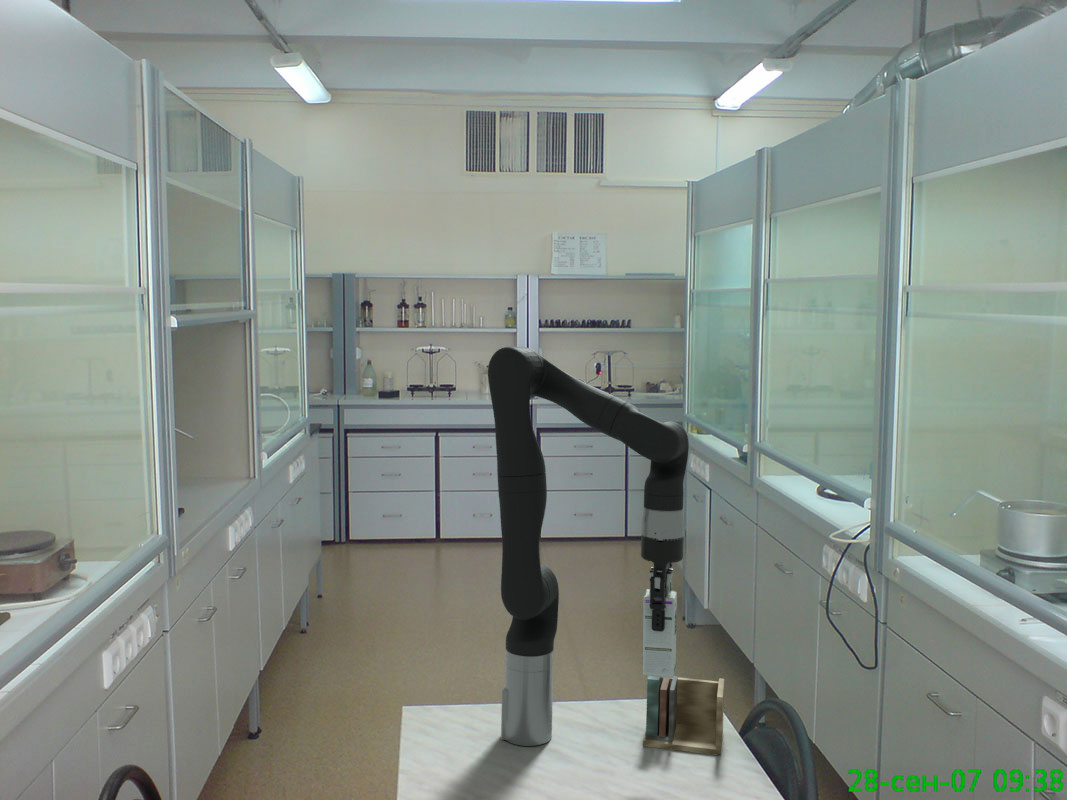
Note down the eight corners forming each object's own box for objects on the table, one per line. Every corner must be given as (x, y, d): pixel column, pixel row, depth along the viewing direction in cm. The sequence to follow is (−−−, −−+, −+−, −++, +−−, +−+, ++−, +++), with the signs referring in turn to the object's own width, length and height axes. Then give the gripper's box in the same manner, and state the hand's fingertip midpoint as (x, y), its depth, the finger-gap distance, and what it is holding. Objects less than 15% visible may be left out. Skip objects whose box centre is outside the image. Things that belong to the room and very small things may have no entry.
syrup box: (674, 678, 161) (676, 597, 160) (640, 675, 162) (643, 595, 161) (675, 668, 166) (678, 589, 166) (643, 665, 168) (645, 587, 167)
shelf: (642, 746, 172) (644, 682, 172) (649, 723, 183) (651, 663, 182) (720, 755, 169) (722, 690, 168) (722, 731, 179) (724, 670, 179)
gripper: (646, 524, 171) (643, 612, 172) (636, 539, 157) (633, 635, 158) (686, 527, 169) (683, 616, 170) (680, 542, 155) (677, 639, 156)
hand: (659, 625), depth 164 cm, fingers closed on syrup box, 5 cm apart
